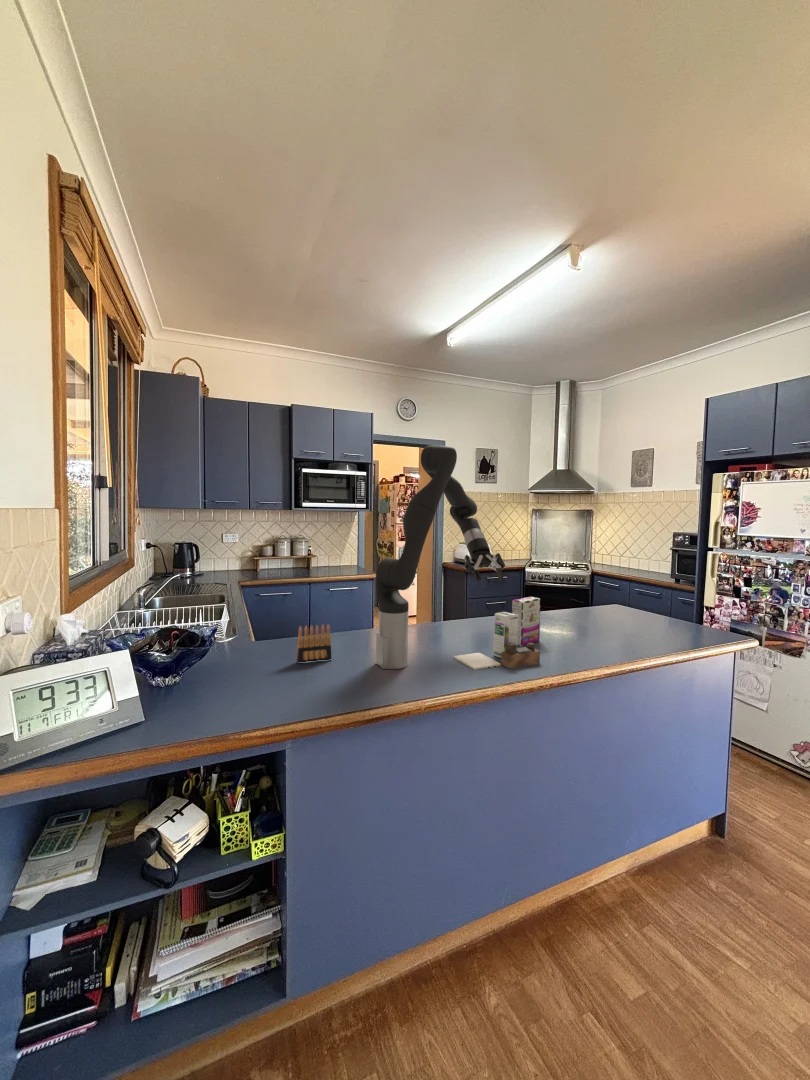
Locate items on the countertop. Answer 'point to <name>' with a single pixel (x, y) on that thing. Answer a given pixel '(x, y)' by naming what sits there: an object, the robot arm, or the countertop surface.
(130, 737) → the countertop surface
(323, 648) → the ammunition clip
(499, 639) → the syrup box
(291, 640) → the countertop surface
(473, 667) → the mat
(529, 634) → the candy bar box
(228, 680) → the countertop surface
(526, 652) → the body
